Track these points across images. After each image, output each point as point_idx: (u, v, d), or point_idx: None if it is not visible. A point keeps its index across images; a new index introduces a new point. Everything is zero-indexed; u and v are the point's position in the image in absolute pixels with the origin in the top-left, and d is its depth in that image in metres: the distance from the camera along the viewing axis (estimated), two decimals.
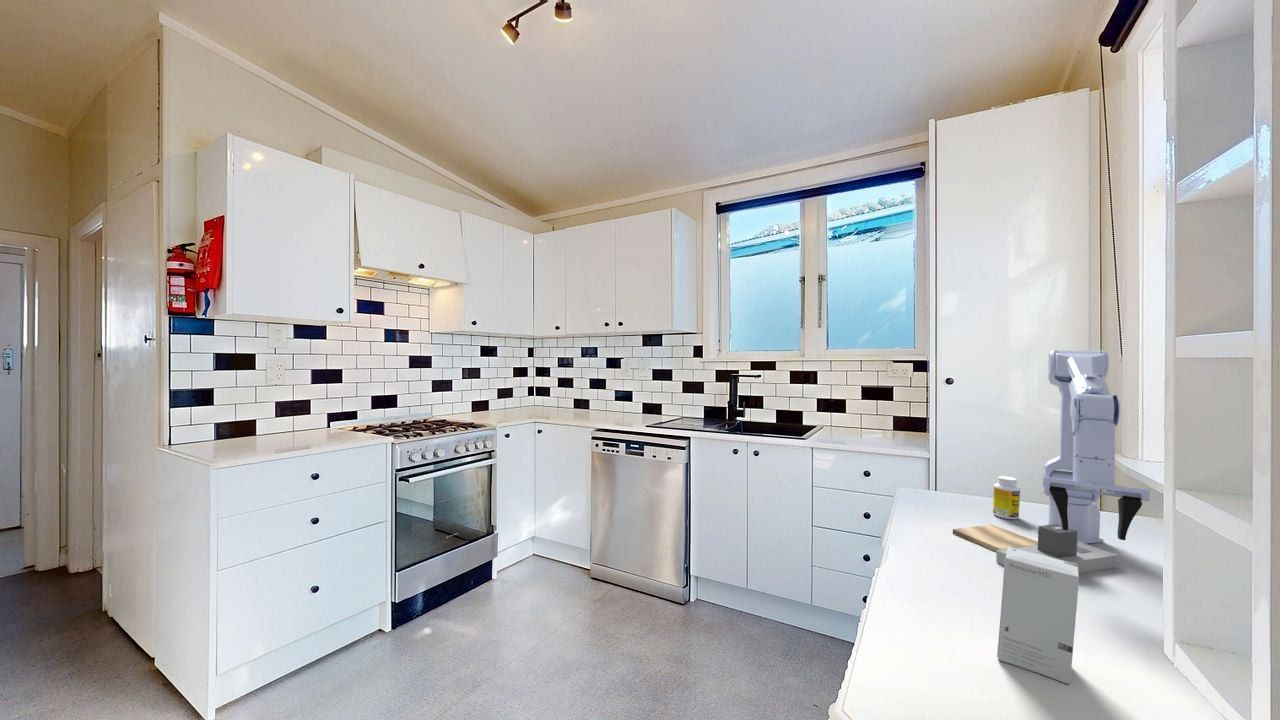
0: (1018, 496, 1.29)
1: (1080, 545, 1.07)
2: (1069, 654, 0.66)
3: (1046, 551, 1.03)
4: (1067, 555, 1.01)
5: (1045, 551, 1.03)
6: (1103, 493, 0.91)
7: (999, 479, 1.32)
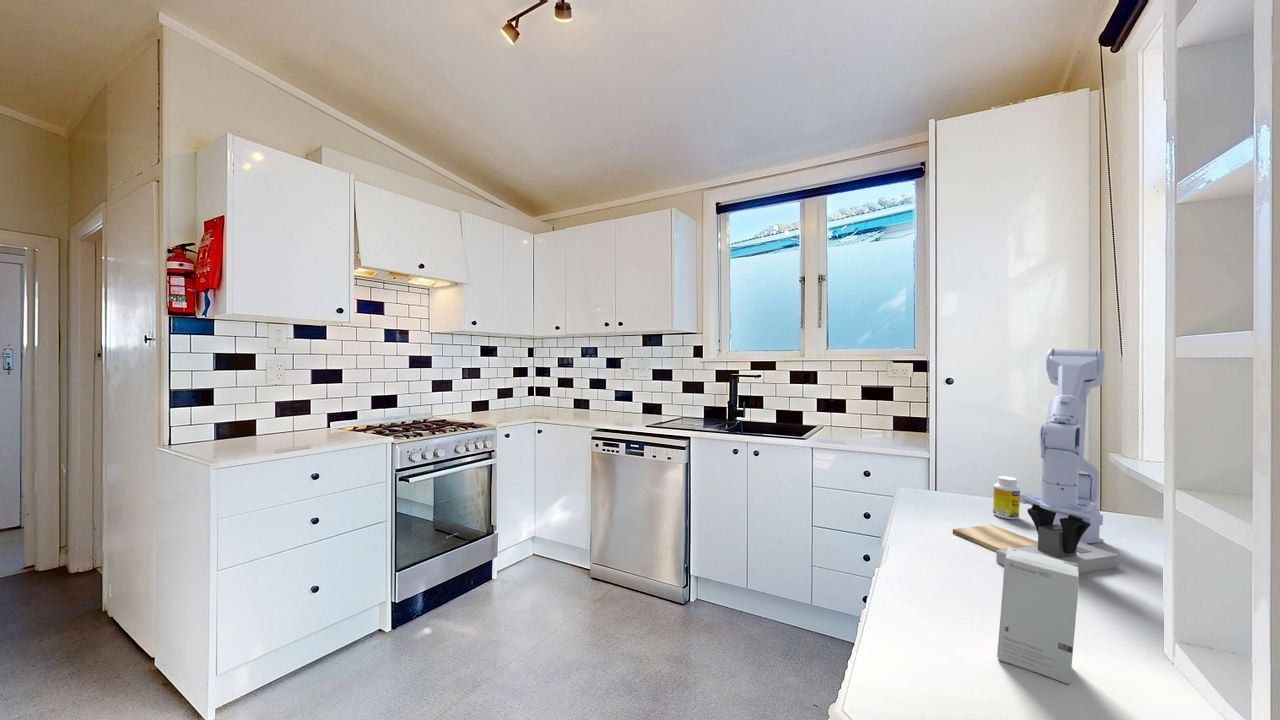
0: (1018, 496, 1.29)
1: (1080, 545, 1.07)
2: (1069, 654, 0.66)
3: (1046, 551, 1.03)
4: (1067, 555, 1.01)
5: (1045, 551, 1.03)
6: (1064, 513, 1.01)
7: (999, 479, 1.32)
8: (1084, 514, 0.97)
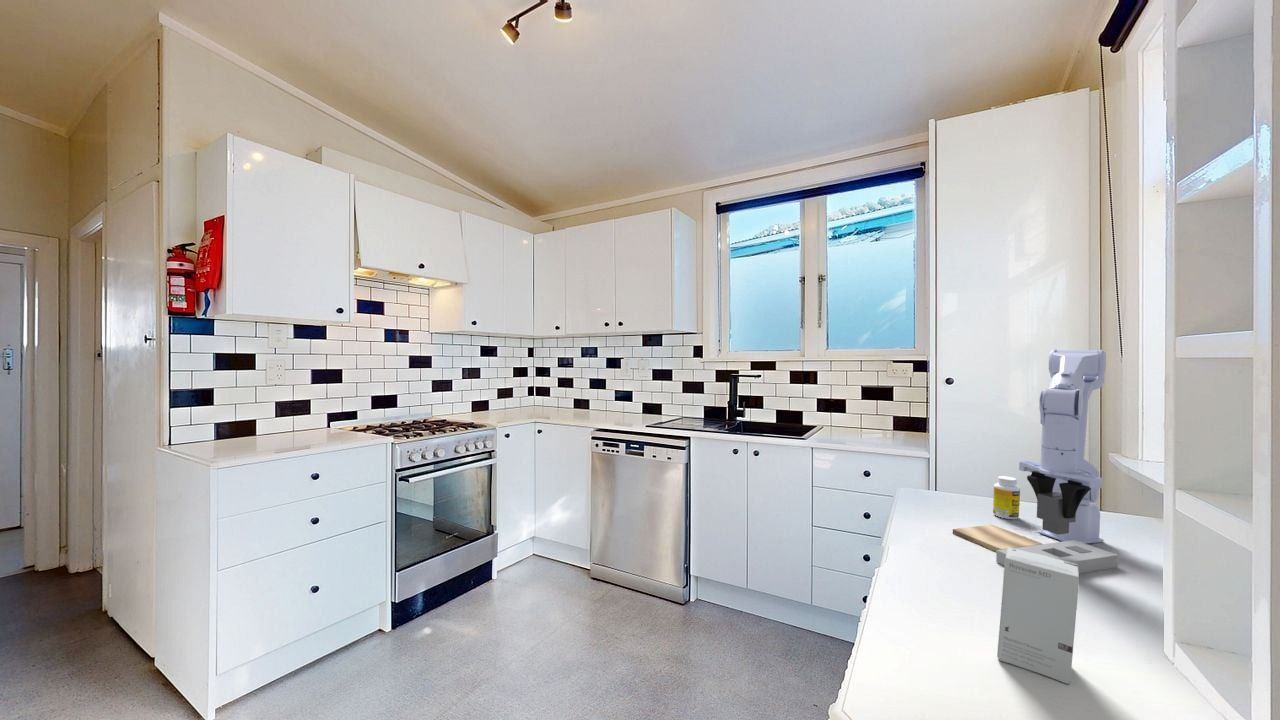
0: (1018, 496, 1.29)
1: (1080, 545, 1.07)
2: (1069, 654, 0.66)
3: (1045, 518, 1.03)
4: (1066, 521, 1.01)
5: (1044, 518, 1.03)
6: (1063, 479, 1.01)
7: (999, 479, 1.32)
8: (1084, 478, 0.97)
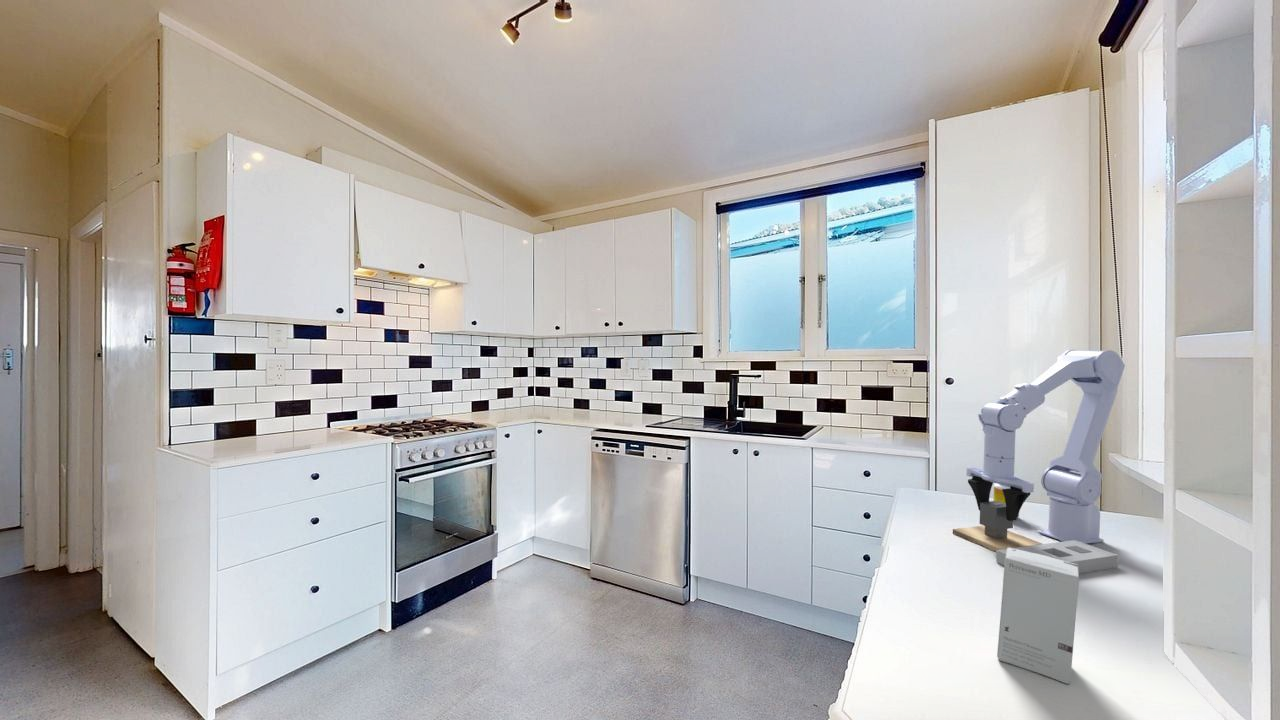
0: None
1: (1080, 545, 1.07)
2: (1069, 654, 0.66)
3: (986, 524, 1.15)
4: (1004, 527, 1.13)
5: (985, 524, 1.15)
6: (1002, 483, 1.14)
7: None
8: (1018, 483, 1.09)
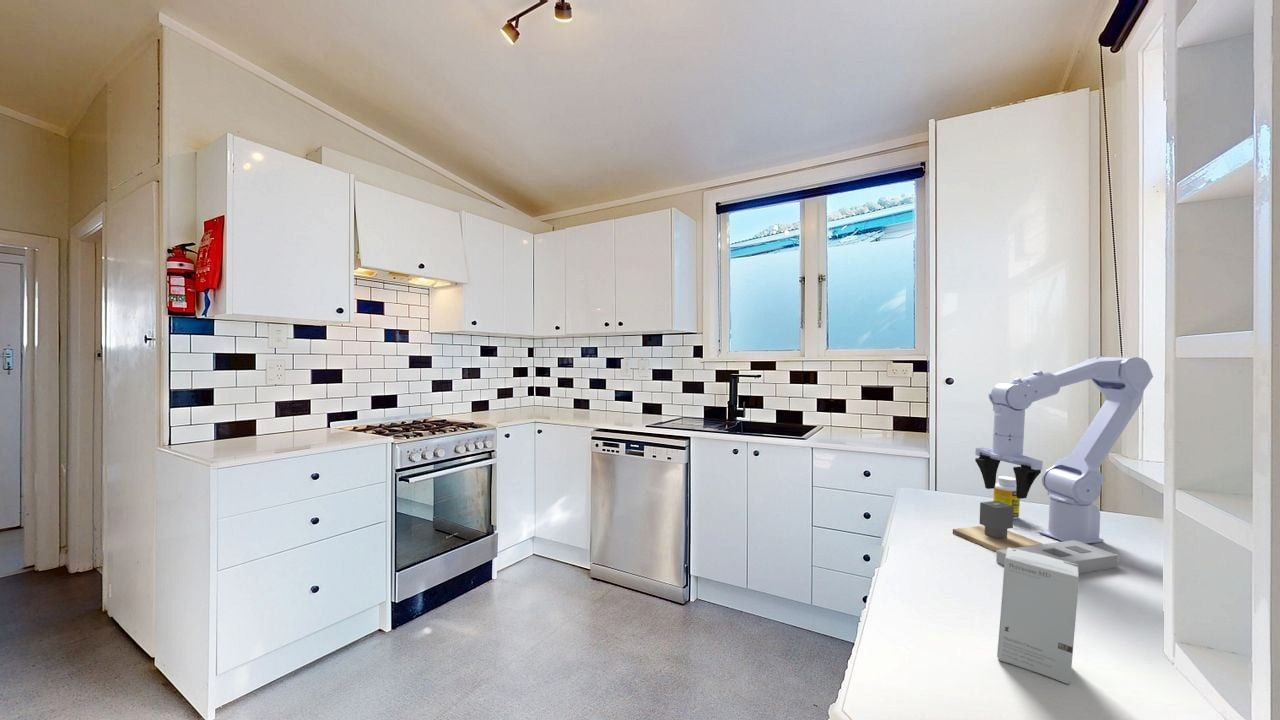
0: None
1: (1080, 545, 1.07)
2: (1069, 654, 0.66)
3: (986, 524, 1.15)
4: (1004, 527, 1.13)
5: (985, 524, 1.15)
6: (1011, 462, 1.16)
7: (999, 479, 1.32)
8: (1027, 460, 1.11)
